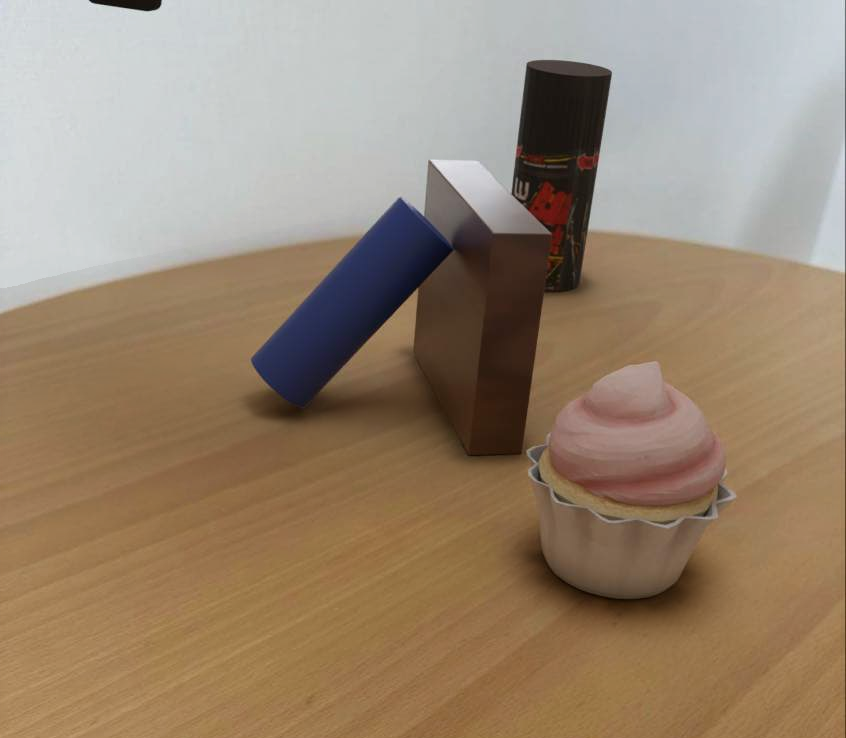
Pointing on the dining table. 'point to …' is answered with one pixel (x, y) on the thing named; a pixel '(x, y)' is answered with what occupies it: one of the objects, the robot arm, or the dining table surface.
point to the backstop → (481, 306)
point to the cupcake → (627, 485)
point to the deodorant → (561, 157)
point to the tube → (351, 303)
